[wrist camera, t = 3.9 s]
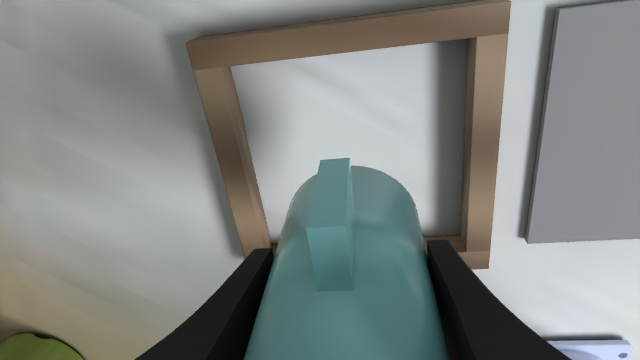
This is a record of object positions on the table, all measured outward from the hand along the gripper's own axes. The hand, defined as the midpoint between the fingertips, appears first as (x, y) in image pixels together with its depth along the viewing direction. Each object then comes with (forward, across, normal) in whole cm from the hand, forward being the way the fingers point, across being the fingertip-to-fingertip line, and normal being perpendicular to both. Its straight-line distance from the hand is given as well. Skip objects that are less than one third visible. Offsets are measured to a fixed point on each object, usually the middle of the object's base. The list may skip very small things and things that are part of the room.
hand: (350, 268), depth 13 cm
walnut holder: (+9, 0, 0) cm, 9 cm away
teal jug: (+2, 0, 0) cm, 2 cm away
